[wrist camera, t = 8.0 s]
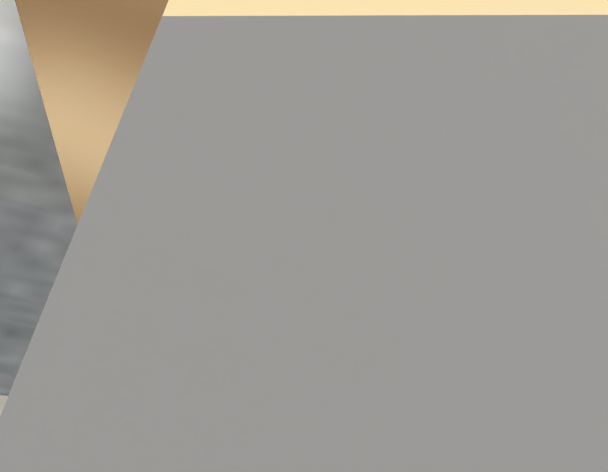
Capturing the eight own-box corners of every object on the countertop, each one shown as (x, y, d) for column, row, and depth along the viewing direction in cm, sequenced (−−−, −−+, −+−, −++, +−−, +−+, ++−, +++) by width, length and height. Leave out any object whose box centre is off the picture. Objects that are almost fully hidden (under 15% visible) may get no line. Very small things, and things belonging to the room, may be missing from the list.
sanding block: (176, -19, 4) (-130, 732, 1) (649, -23, 4) (1318, 878, 1) (266, 294, 11) (242, 520, 8) (435, 300, 11) (464, 534, 8)
